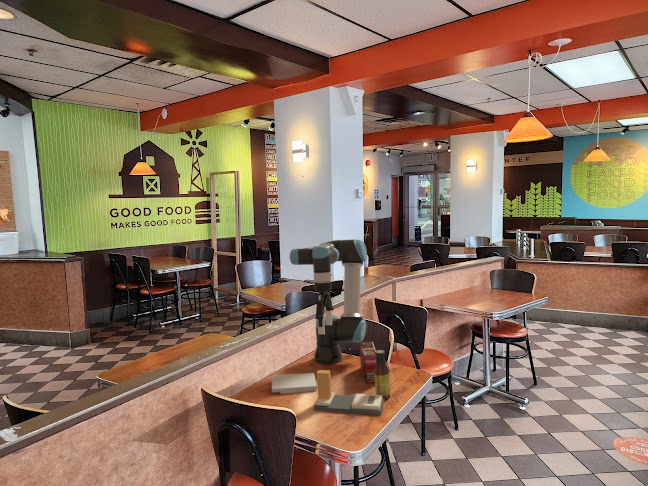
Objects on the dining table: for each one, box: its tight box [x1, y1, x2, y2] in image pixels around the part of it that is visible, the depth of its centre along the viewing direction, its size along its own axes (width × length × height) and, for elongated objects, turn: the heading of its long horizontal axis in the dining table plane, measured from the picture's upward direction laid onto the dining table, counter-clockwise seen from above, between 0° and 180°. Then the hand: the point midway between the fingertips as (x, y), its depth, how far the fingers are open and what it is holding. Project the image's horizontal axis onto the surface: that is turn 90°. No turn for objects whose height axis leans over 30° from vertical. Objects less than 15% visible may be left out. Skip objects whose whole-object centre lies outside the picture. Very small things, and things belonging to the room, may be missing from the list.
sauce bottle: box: [374, 349, 392, 400], centre depth 183 cm, size 6×6×20 cm
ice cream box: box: [359, 341, 377, 385], centre depth 207 cm, size 20×6×13 cm, turn 1°
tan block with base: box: [314, 369, 336, 406], centre depth 179 cm, size 10×6×12 cm, turn 166°
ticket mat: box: [313, 393, 385, 416], centre depth 177 cm, size 12×27×3 cm, turn 76°
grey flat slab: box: [271, 372, 318, 395], centre depth 200 cm, size 15×3×20 cm
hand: (325, 329), depth 188 cm, fingers open, 13 cm apart
